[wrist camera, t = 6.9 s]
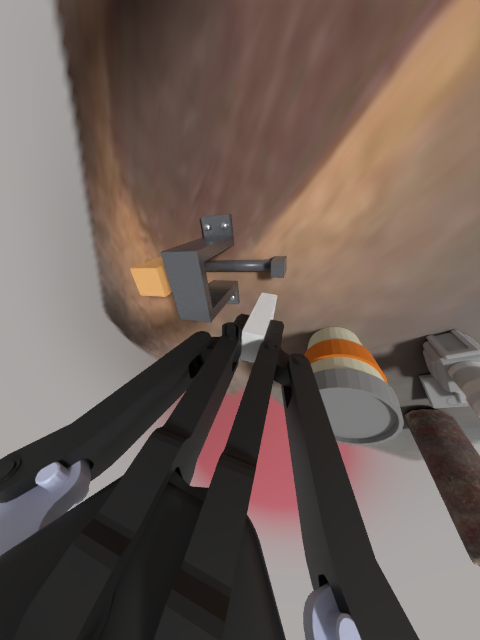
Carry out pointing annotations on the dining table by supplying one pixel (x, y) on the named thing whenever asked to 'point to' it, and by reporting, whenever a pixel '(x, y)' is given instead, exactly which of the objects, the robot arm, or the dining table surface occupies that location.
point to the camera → (452, 371)
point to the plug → (156, 281)
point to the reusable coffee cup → (353, 389)
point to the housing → (201, 272)
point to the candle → (451, 471)
